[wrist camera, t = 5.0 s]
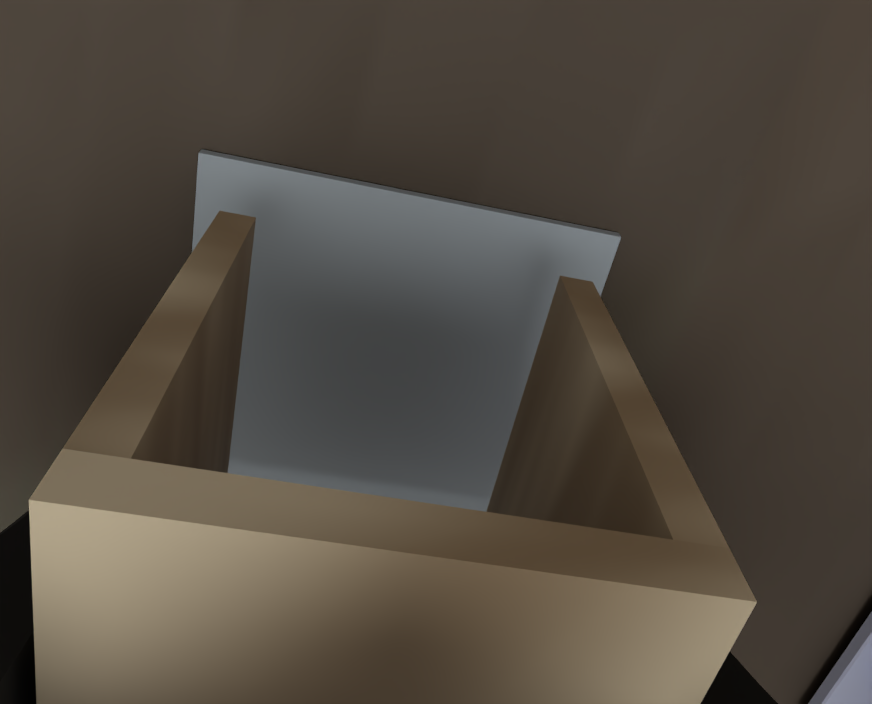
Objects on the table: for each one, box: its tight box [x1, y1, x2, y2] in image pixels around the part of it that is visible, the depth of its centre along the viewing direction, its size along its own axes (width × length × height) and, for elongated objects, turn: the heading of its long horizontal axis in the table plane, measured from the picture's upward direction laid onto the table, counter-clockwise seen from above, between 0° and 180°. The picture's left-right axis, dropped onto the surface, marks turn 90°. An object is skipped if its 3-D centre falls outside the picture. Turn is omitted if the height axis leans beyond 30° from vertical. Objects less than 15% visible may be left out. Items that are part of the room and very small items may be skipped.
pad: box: [192, 149, 621, 512], centre depth 15 cm, size 7×7×1 cm
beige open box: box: [29, 211, 757, 704], centre depth 10 cm, size 5×6×6 cm
